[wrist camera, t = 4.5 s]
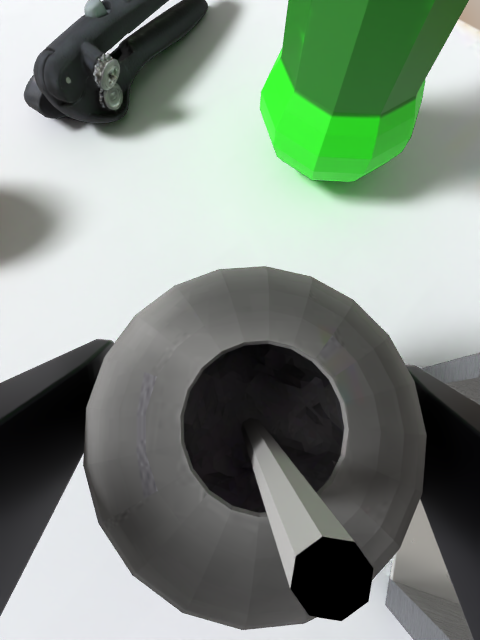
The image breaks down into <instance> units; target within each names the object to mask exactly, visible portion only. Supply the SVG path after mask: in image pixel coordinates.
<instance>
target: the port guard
mask: <svg viewBox="0 0 480 640" xmlns="http://www.w3.org/2000/svg"><path fill="white" fill-rule="evenodd" d="M423 371H425V372H427V373H428V374H430V375H432V376H433V377H435V378H437V379H438V380H440V381H442V382H443V383H445V384H447V385H448V386H450V387H452V388H453V389H455V390H457V391H458V392H460V393H461V394H463V395H465V396H466V397H468V398H470V399H471V400H473V401H475V402H476V403H478V404H480V353H477V354H473V355H470V356H466V357H462V358H459V359H455V360H451V361H448V362H444V363H440V364H437V365H433V366H429V367H426V368H423ZM385 605H386V606H387V607H388V609H389V610H390V611H391V612H392V614H393V615H394V616H395V617H396V619H397V620H398V621H399V622H400V623H401V625H402V626H403V627H404V628H405V630H406V631H407V632H408V633H409V635H410V636H411V637H412V638H413V639H414V640H473V637H472V635H471V632H470V630H469V627H468V624H467V622H466V619H465V616H464V614H463V611H462V608H461V606H460V603H459V600H458V598H457V595H456V592H455V590H454V587H453V585H452V582H451V579H450V577H449V574H448V571H447V569H446V566H445V563H444V561H443V558H442V555H441V553H440V550H439V548H438V545H437V542H436V540H435V537H434V534H433V532H432V529H431V526H430V524H429V521H428V518H427V516H426V513H425V510H424V508H423V505H422V503H421V500H419V503H418V505H417V508H416V510H415V513H414V515H413V518H412V520H411V522H410V525H409V527H408V530H407V532H406V535H405V537H404V540H403V542H402V545H401V547H400V549H399V550H398V551H397V552H396V554H395V555H394V556H393V560H392V566H391V573H390V579H389V585H388V591H387V598H386V604H385Z"/></svg>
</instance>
